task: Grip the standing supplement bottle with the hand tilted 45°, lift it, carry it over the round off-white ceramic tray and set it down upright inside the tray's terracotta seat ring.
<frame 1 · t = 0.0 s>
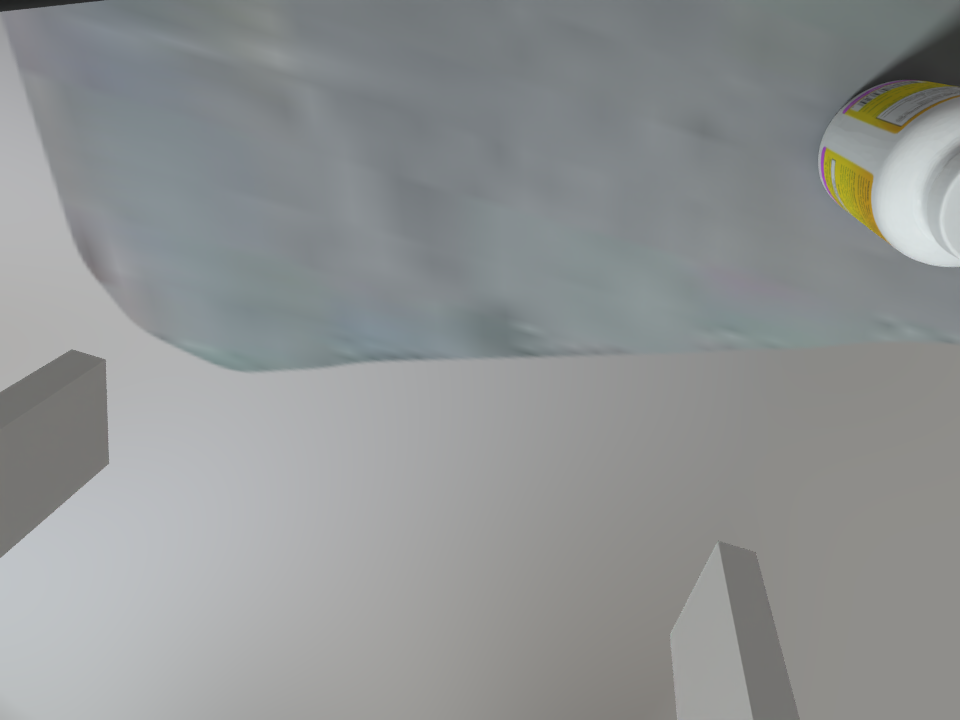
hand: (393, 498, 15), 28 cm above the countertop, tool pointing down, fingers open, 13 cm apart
supplement bottle: (884, 147, 35), on the countertop
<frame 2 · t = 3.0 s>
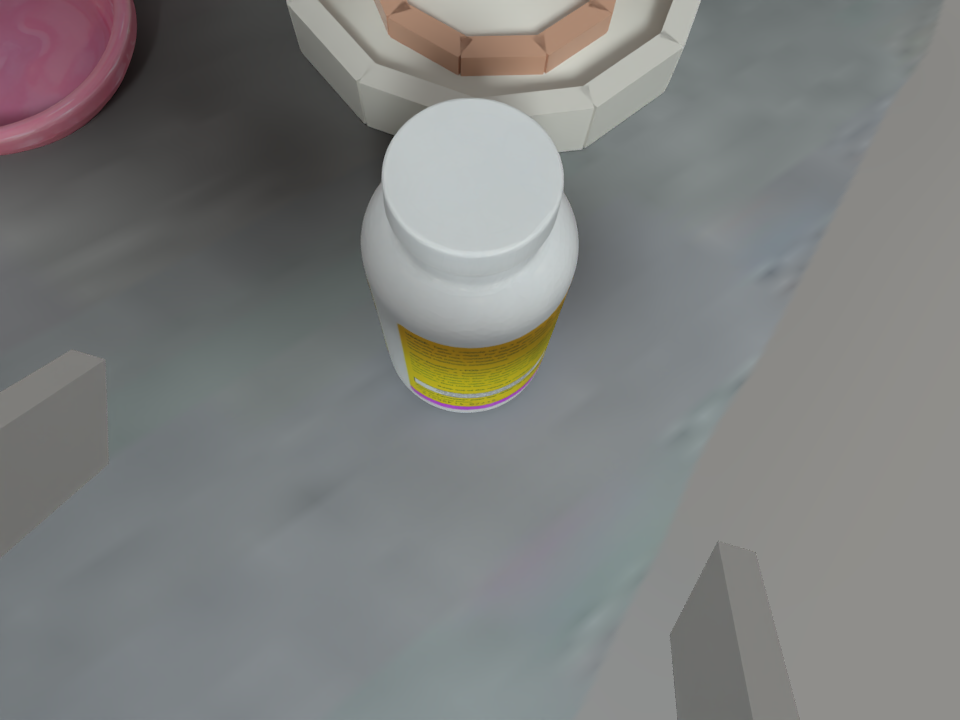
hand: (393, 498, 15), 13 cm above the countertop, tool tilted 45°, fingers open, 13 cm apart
saucer: (26, 72, 34), on the countertop
supplement bottle: (466, 341, 30), on the countertop
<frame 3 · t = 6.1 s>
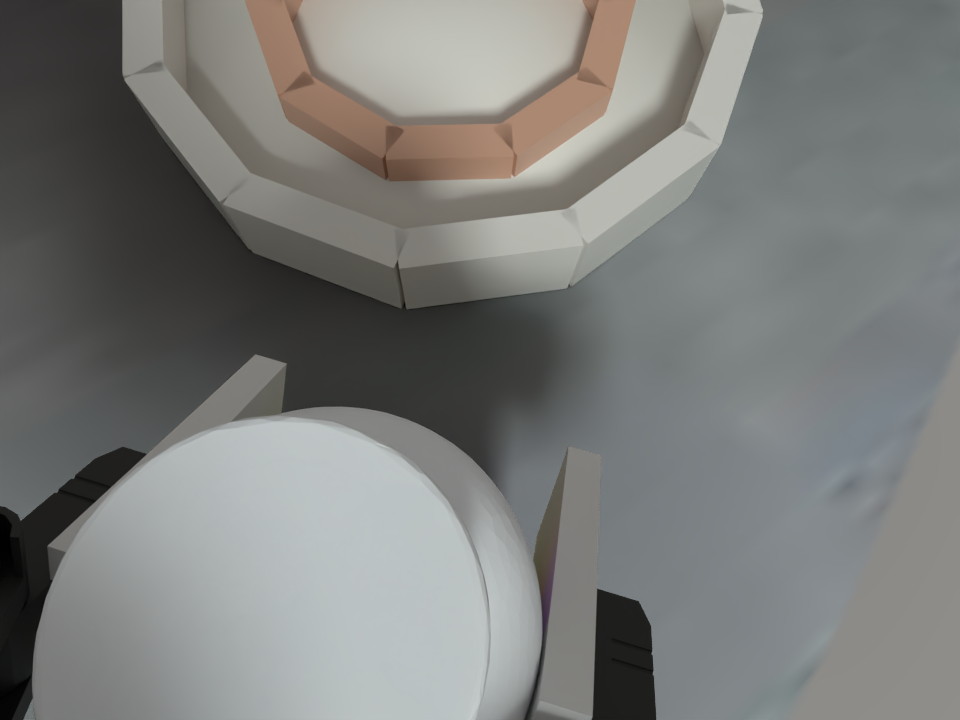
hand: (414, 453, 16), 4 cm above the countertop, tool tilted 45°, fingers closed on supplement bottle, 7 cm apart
supplement bottle: (385, 603, 19), on the countertop, touching gripper
ceramic tray: (444, 45, 25), on the countertop
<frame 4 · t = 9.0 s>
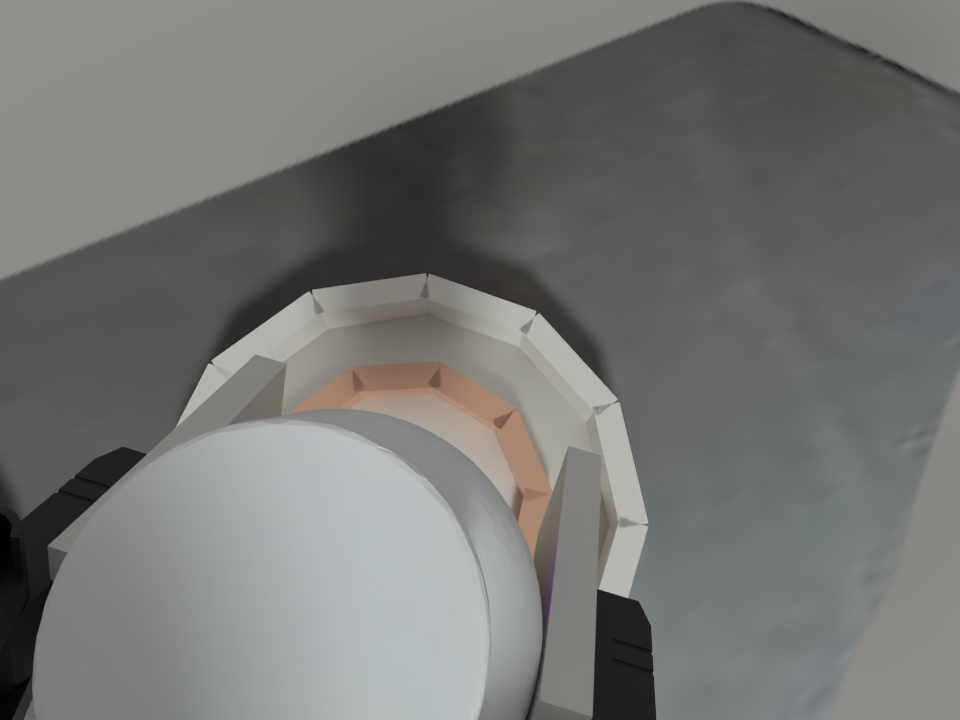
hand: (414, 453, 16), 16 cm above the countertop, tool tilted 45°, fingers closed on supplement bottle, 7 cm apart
supplement bottle: (385, 604, 19), point 11 cm above the countertop, touching gripper
ceramic tray: (404, 508, 32), on the countertop
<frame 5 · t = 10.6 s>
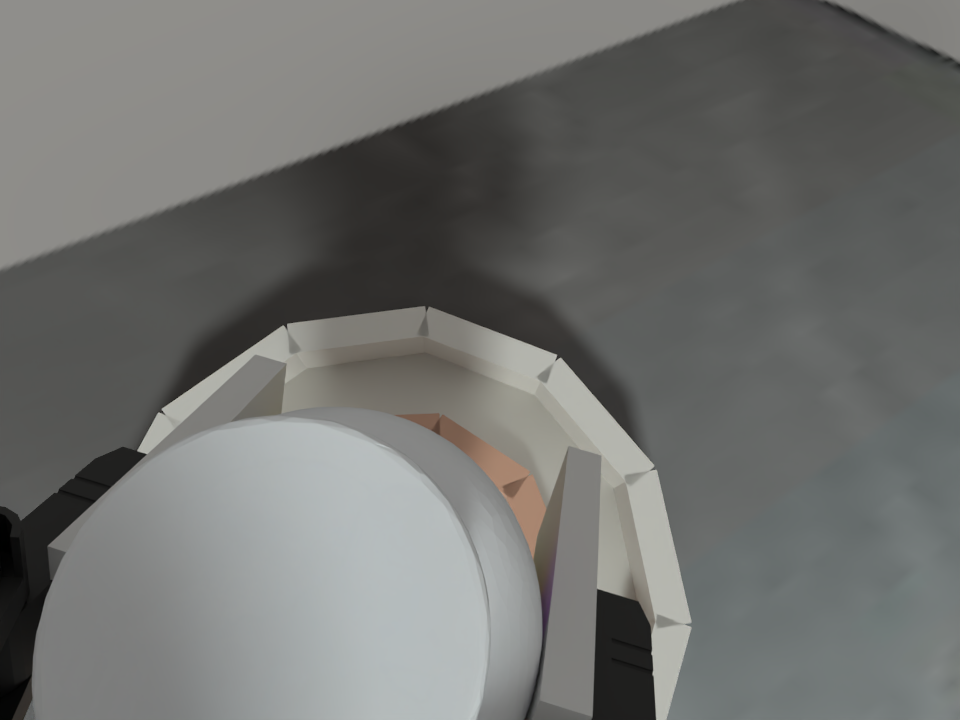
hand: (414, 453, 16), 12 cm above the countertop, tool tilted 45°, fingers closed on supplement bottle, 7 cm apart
supplement bottle: (385, 603, 19), point 7 cm above the countertop, touching gripper
ceramic tray: (393, 588, 26), on the countertop
when the fingers open (7 cm above the countertop, at t = 12.0 s): supplement bottle drops 1 cm, resting on ceramic tray.
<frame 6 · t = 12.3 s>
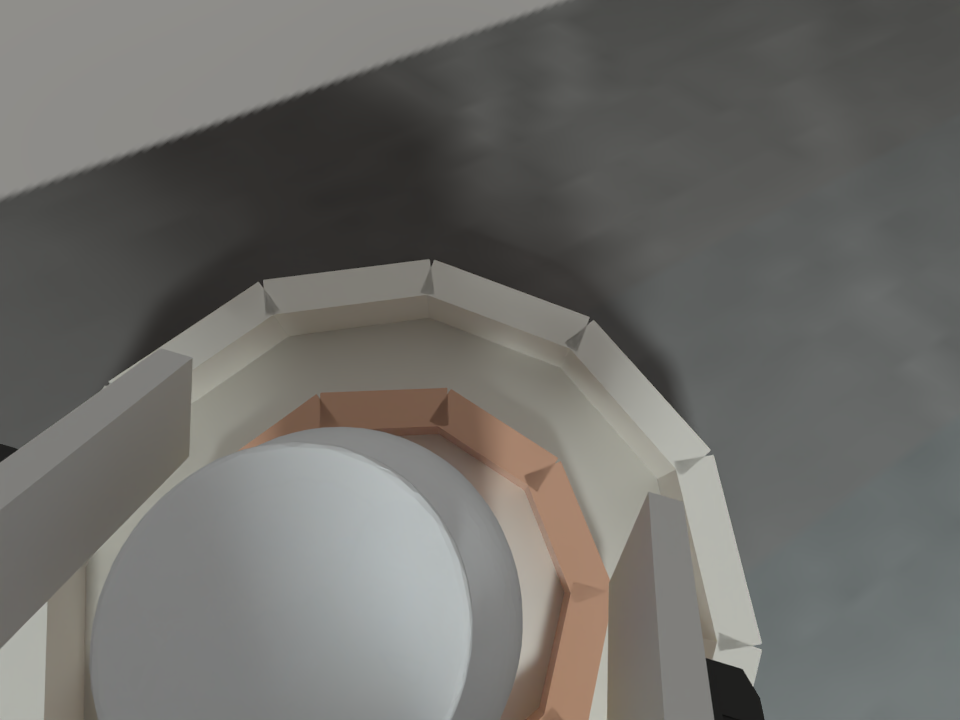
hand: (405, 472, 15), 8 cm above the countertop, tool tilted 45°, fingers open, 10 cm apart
supplement bottle: (384, 603, 21), point 1 cm above the countertop, touching ceramic tray
ceramic tray: (392, 600, 22), on the countertop
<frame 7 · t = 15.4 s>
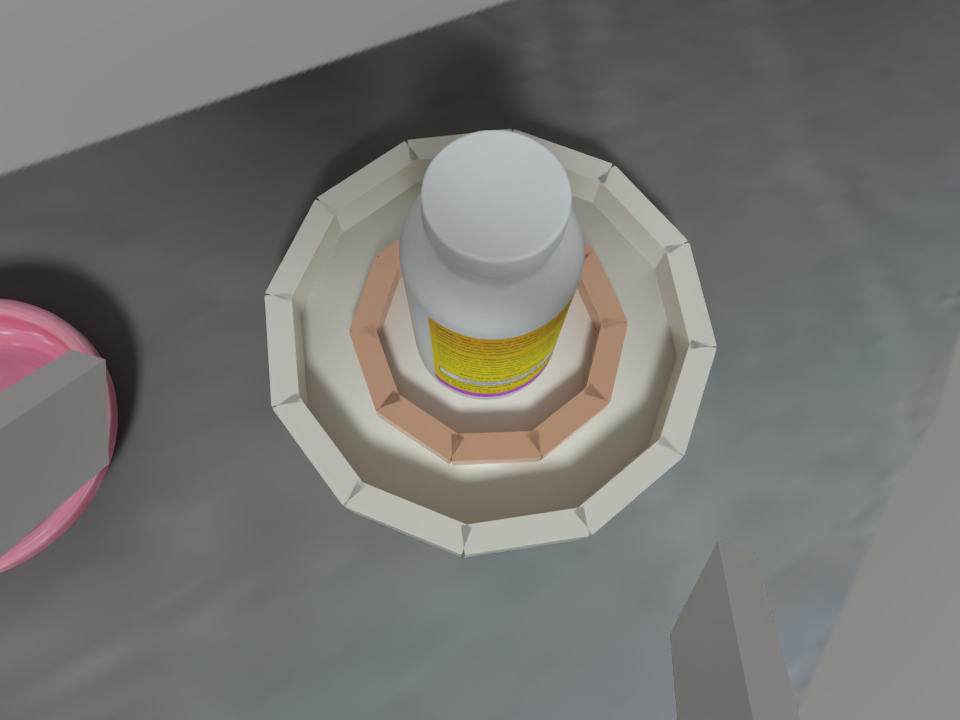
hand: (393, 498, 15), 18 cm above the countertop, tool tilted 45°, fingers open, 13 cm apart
saucer: (4, 446, 33), on the countertop
supplement bottle: (484, 337, 34), point 1 cm above the countertop, touching ceramic tray
ceramic tray: (487, 342, 34), on the countertop
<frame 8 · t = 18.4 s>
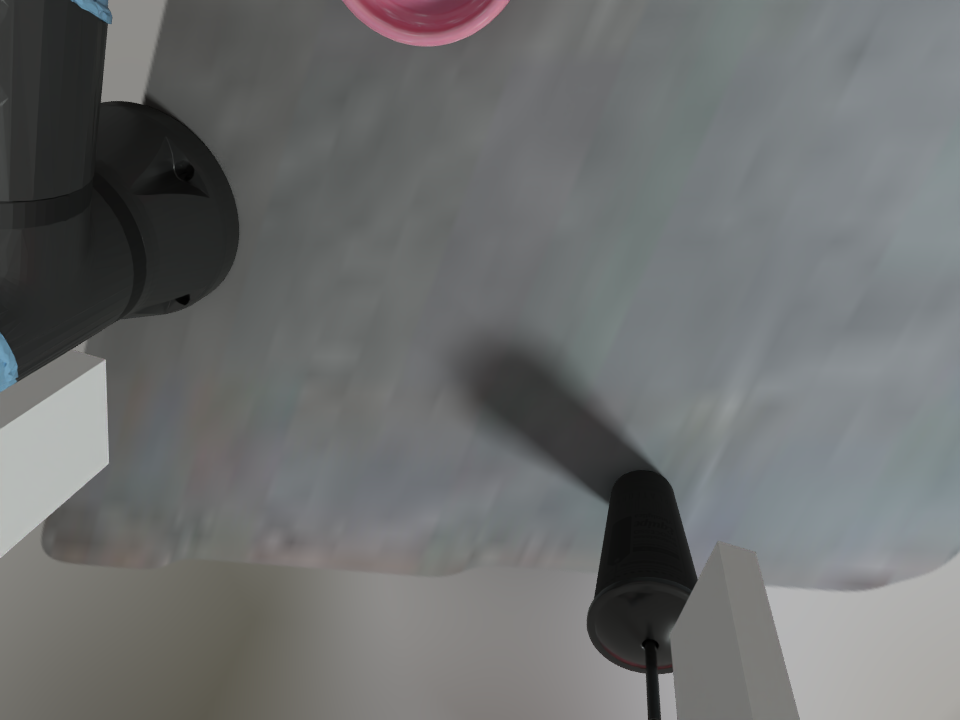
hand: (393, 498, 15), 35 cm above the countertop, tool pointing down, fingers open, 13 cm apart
drinking cup: (642, 494, 55), on the countertop
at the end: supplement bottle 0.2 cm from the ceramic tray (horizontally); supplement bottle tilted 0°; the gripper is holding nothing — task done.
